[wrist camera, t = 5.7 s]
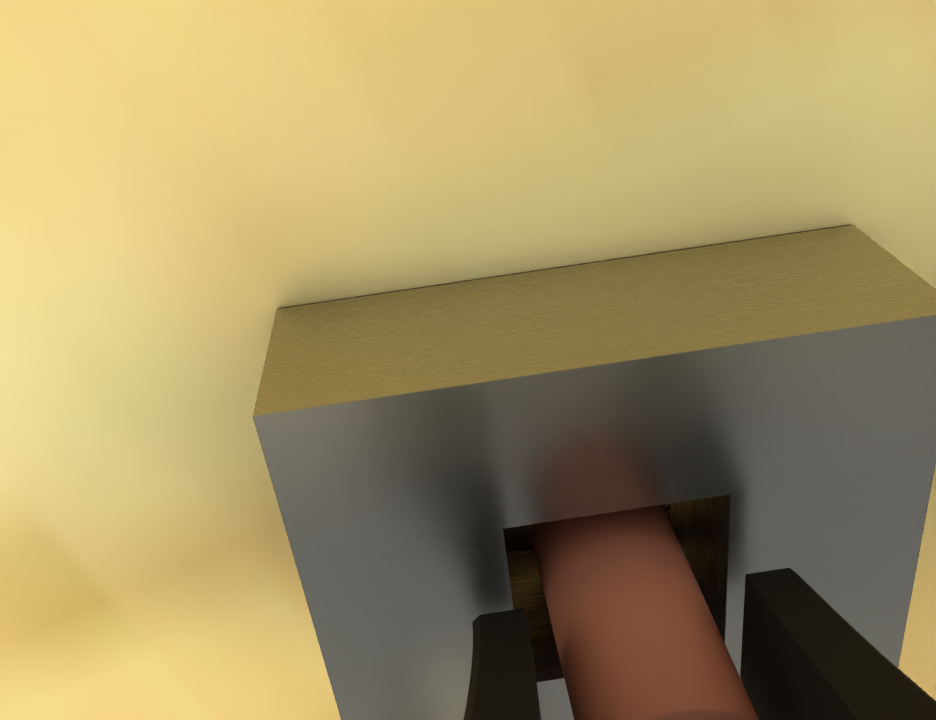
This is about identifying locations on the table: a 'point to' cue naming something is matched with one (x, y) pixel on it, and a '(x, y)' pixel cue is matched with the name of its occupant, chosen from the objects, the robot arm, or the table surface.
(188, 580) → the table surface
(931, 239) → the table surface
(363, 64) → the table surface
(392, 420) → the silver box with hole
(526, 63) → the table surface
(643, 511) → the cylindrical pin
